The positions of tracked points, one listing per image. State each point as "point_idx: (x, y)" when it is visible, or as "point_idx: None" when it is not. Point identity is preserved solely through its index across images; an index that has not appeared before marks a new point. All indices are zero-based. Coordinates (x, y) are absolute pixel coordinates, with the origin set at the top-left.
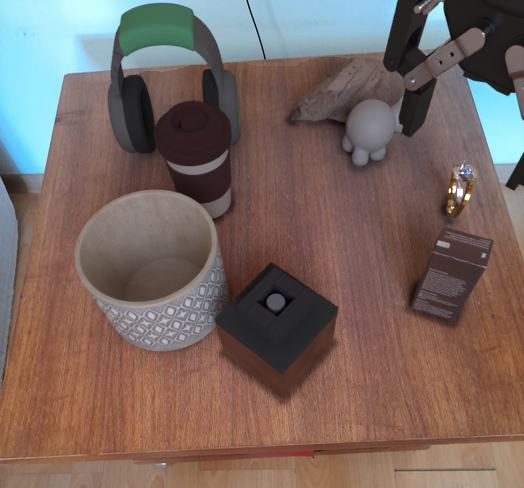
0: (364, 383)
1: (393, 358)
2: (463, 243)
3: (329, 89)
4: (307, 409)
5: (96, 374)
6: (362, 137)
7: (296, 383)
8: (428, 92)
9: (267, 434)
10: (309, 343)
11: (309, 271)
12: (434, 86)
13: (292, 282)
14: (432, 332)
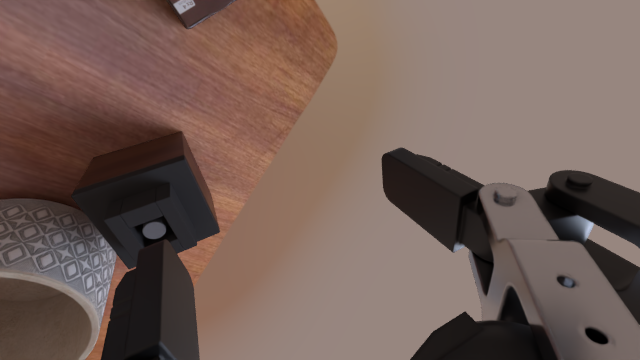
0: (237, 129)
1: (230, 90)
2: None
3: None
4: (230, 182)
5: (103, 315)
6: None
7: (204, 180)
8: (179, 343)
9: (231, 215)
10: (204, 197)
11: (62, 97)
12: (161, 322)
13: (140, 211)
14: (228, 32)
